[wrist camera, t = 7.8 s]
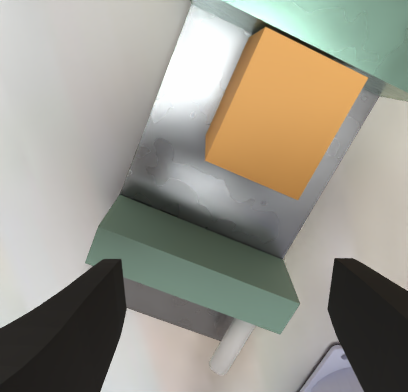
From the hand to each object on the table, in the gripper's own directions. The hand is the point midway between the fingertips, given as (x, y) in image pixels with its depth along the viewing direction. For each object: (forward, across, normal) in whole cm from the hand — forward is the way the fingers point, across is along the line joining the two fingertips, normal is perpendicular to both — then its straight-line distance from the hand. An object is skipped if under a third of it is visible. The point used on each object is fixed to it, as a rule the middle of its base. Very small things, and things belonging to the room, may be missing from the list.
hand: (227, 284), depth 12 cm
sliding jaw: (+8, +2, +5) cm, 9 cm away
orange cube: (+8, -2, -5) cm, 10 cm away
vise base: (+9, 0, -1) cm, 9 cm away
